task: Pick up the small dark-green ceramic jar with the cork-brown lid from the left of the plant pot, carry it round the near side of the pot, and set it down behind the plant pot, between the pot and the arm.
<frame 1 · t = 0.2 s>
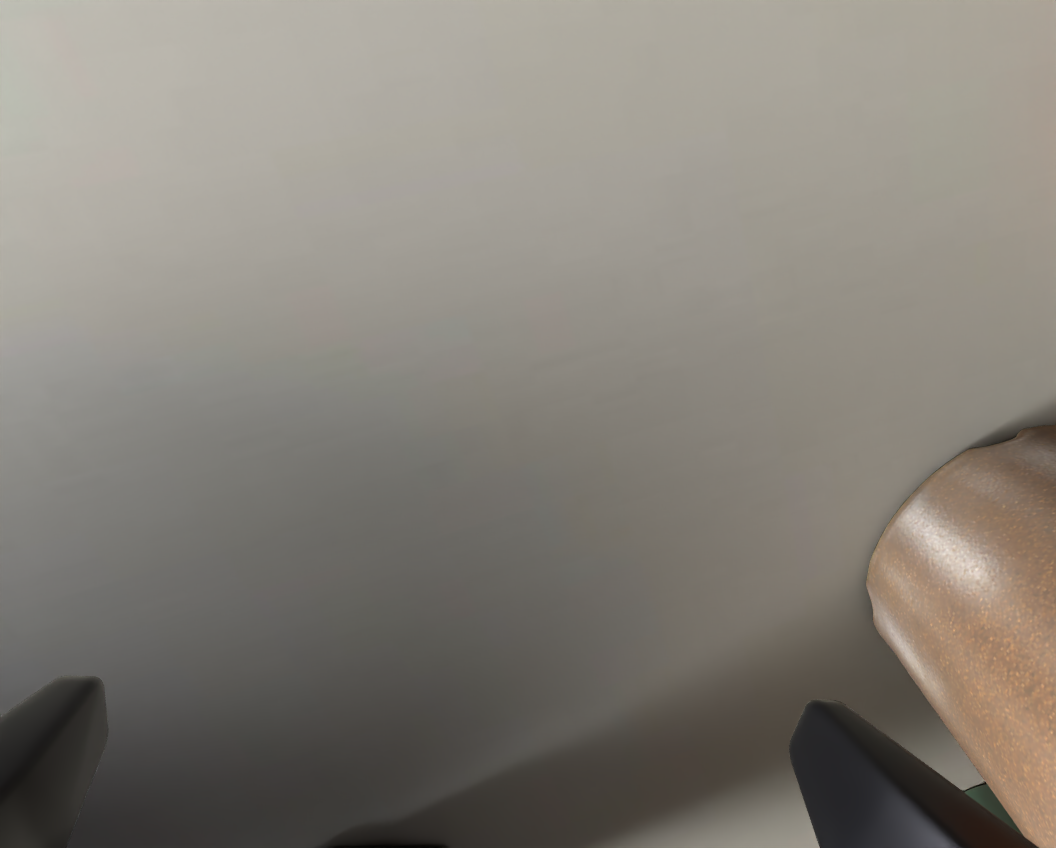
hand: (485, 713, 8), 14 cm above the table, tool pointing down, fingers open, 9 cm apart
jar: (976, 817, 36), on the table
plant pot: (988, 547, 28), on the table
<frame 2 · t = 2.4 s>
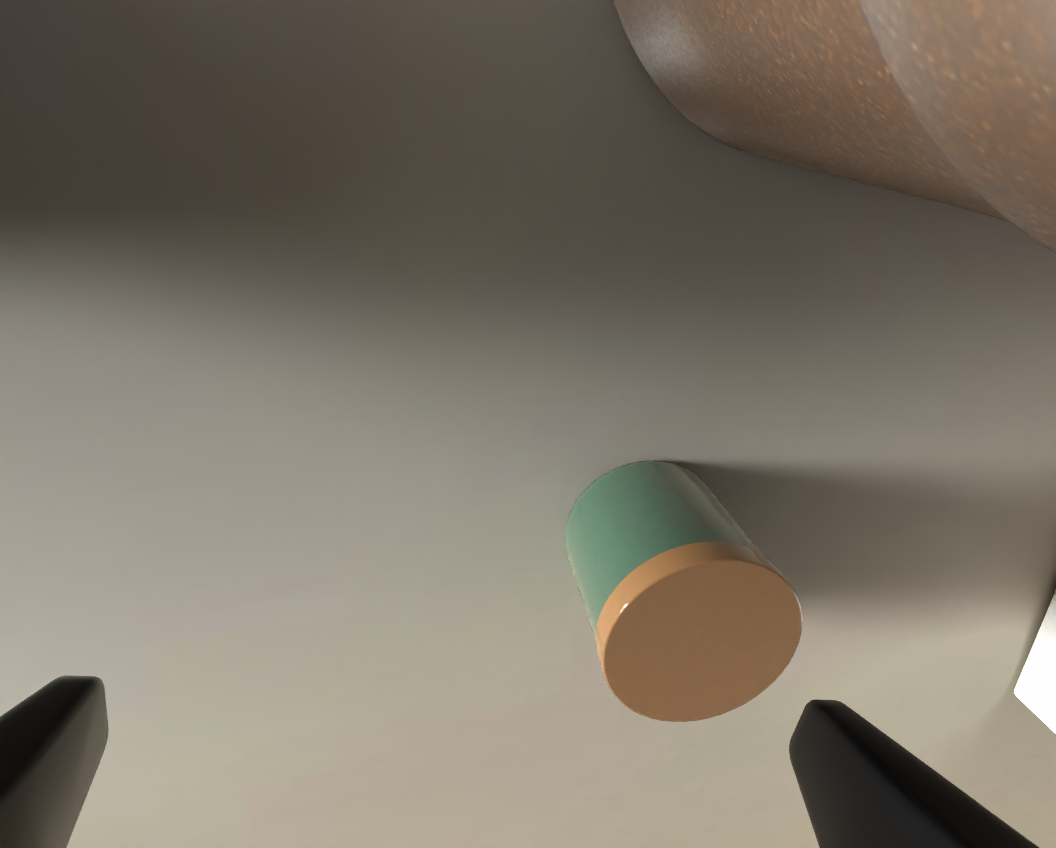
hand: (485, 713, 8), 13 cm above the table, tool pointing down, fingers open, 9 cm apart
jar: (640, 529, 23), on the table
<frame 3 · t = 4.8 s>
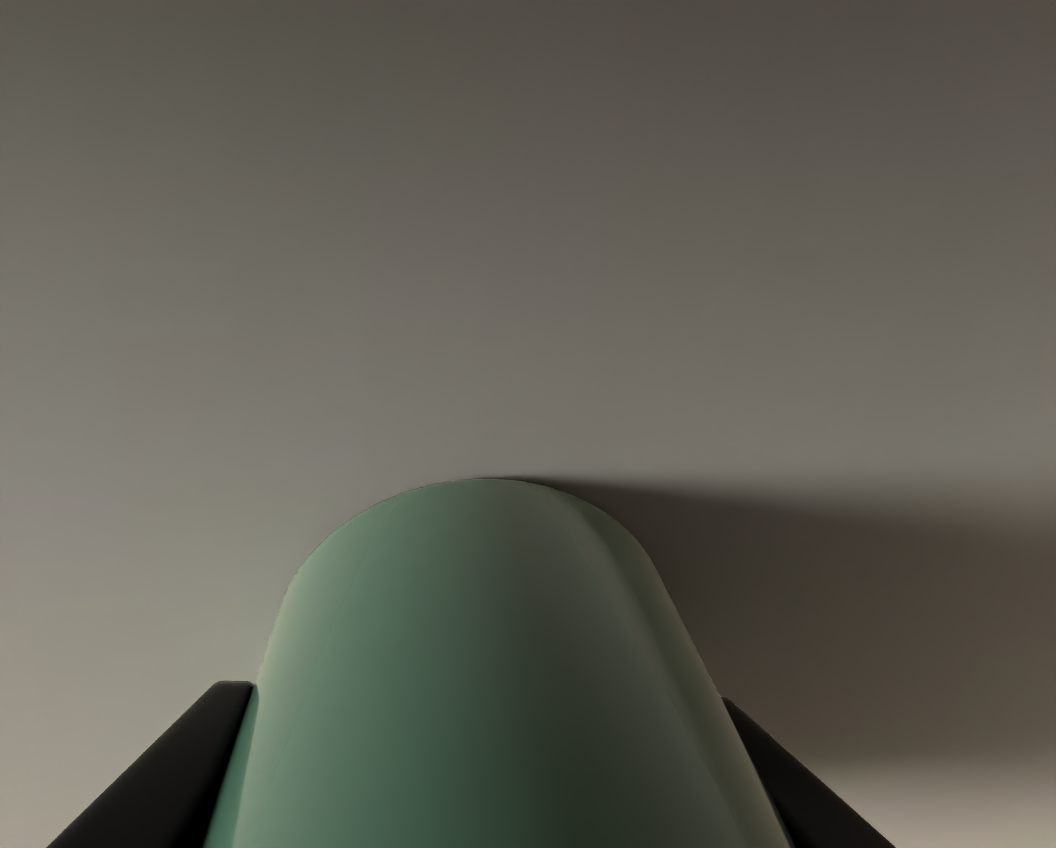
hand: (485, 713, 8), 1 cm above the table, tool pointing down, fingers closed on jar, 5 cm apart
jar: (477, 646, 9), on the table, touching gripper
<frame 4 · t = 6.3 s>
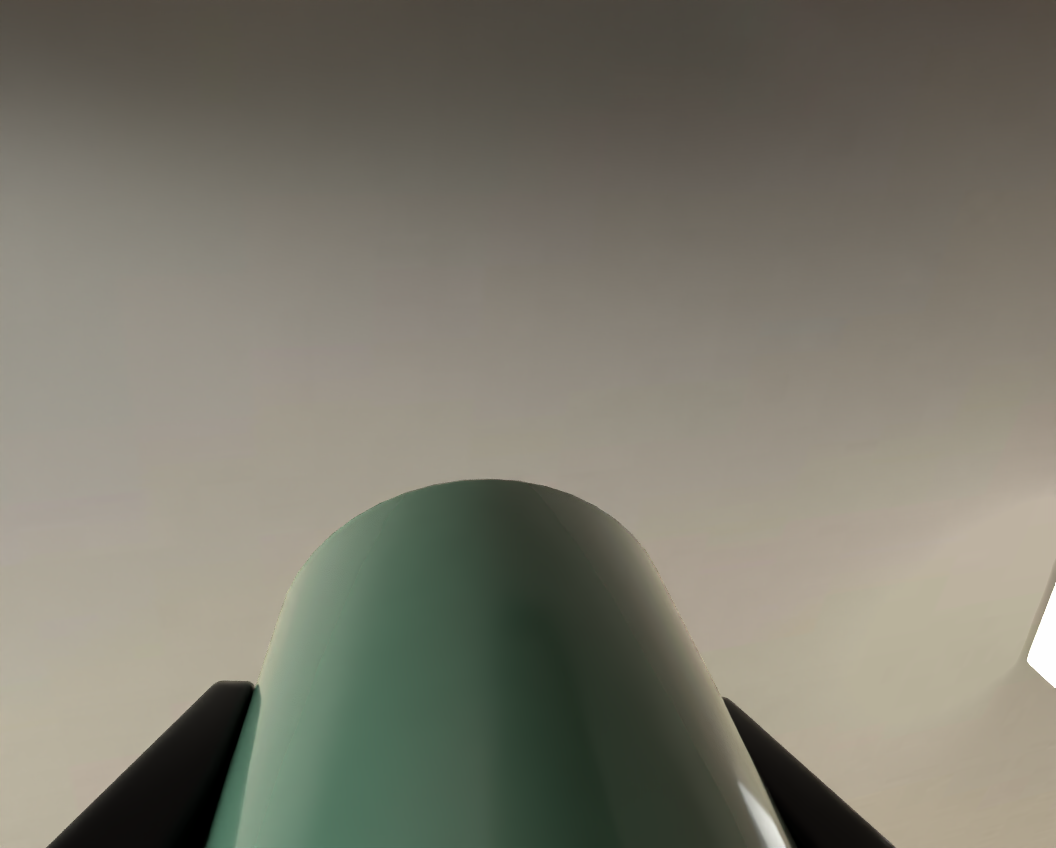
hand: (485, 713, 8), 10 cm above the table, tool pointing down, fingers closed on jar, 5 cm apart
jar: (478, 646, 9), point 9 cm above the table, touching gripper
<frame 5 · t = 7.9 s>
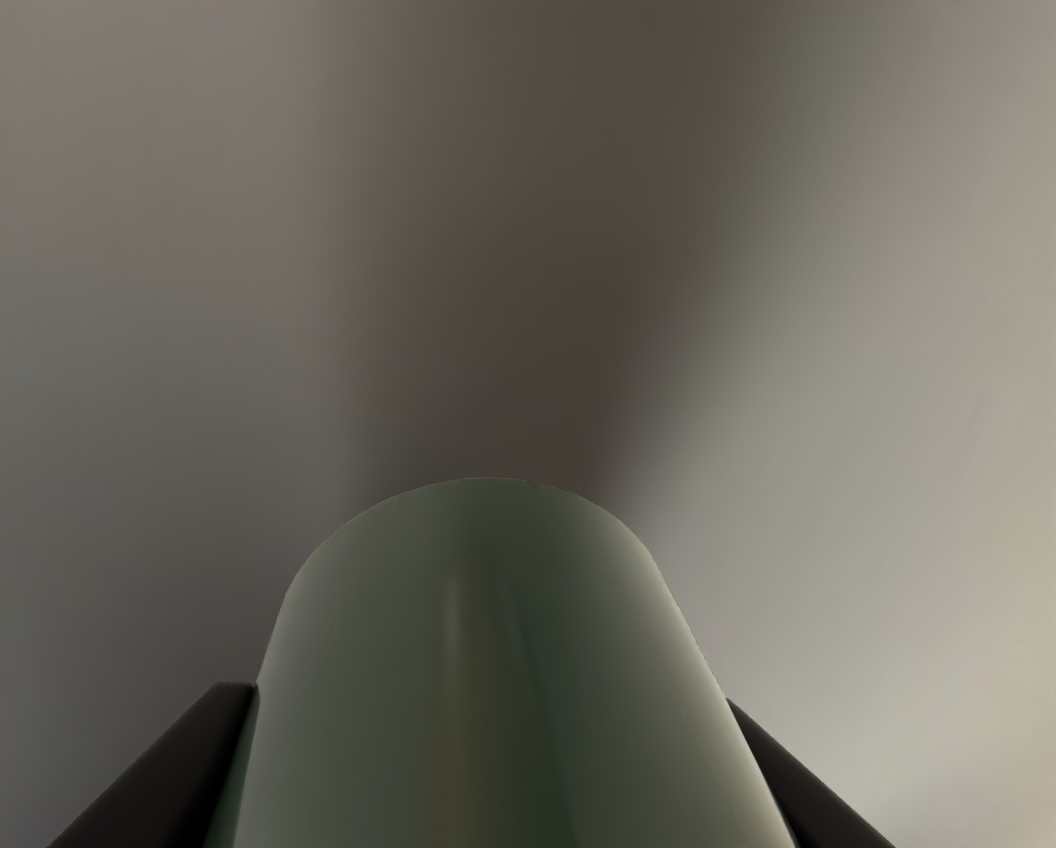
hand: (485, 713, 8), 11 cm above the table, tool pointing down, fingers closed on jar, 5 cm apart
jar: (479, 645, 9), point 10 cm above the table, touching gripper
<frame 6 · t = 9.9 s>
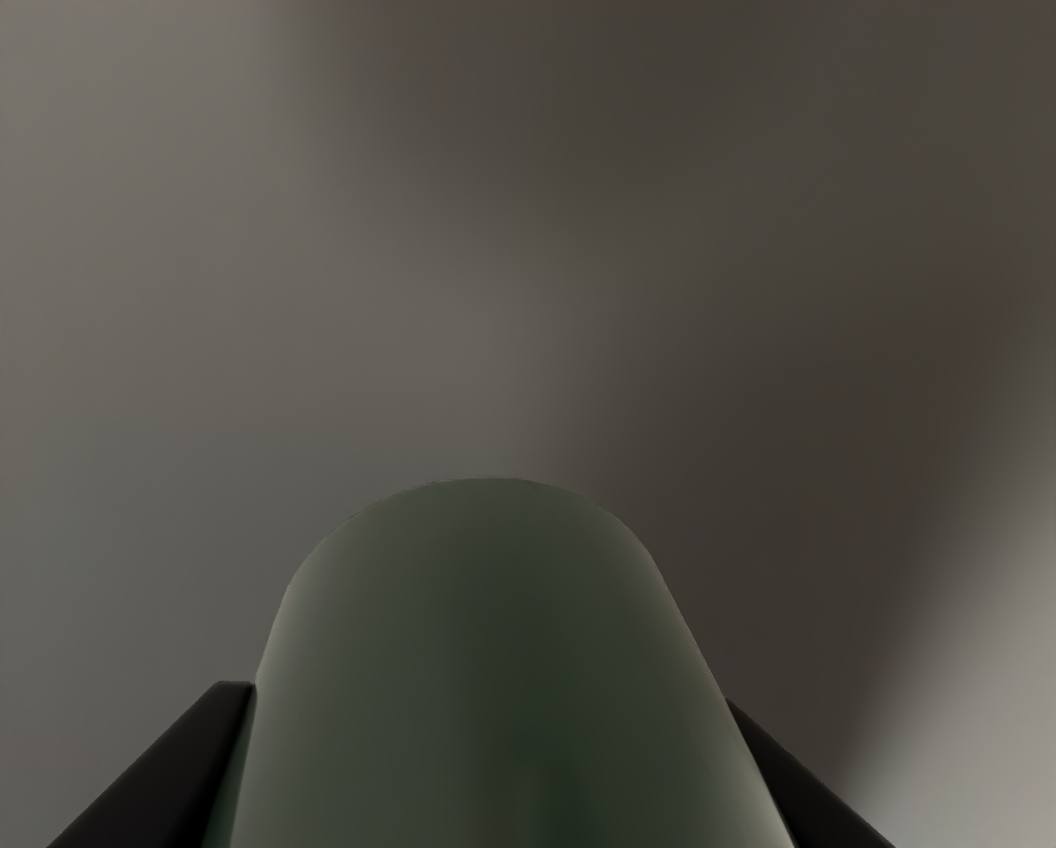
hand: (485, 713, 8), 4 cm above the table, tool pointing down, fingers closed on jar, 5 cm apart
jar: (478, 645, 9), point 2 cm above the table, touching gripper
when the fingers open (1 cm above the table, at t = 11.1 s): jar stays where it is, on the table.
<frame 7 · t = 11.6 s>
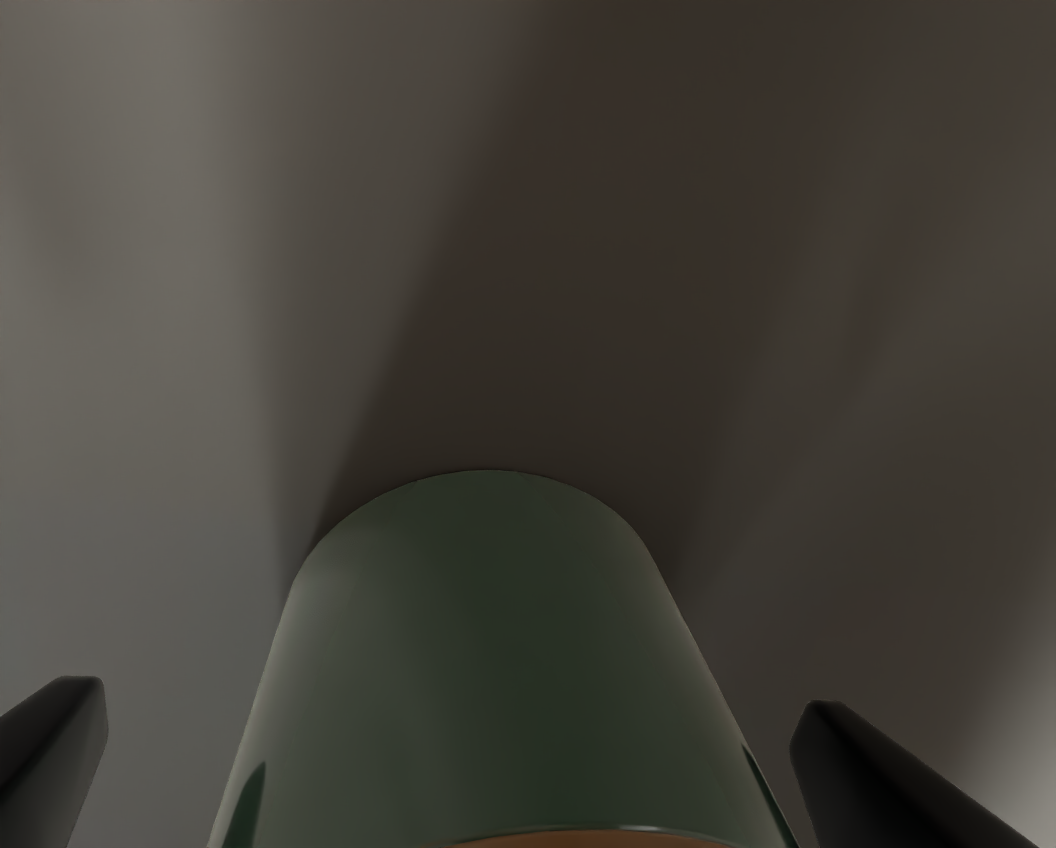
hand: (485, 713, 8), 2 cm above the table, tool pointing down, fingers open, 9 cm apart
jar: (479, 633, 10), on the table
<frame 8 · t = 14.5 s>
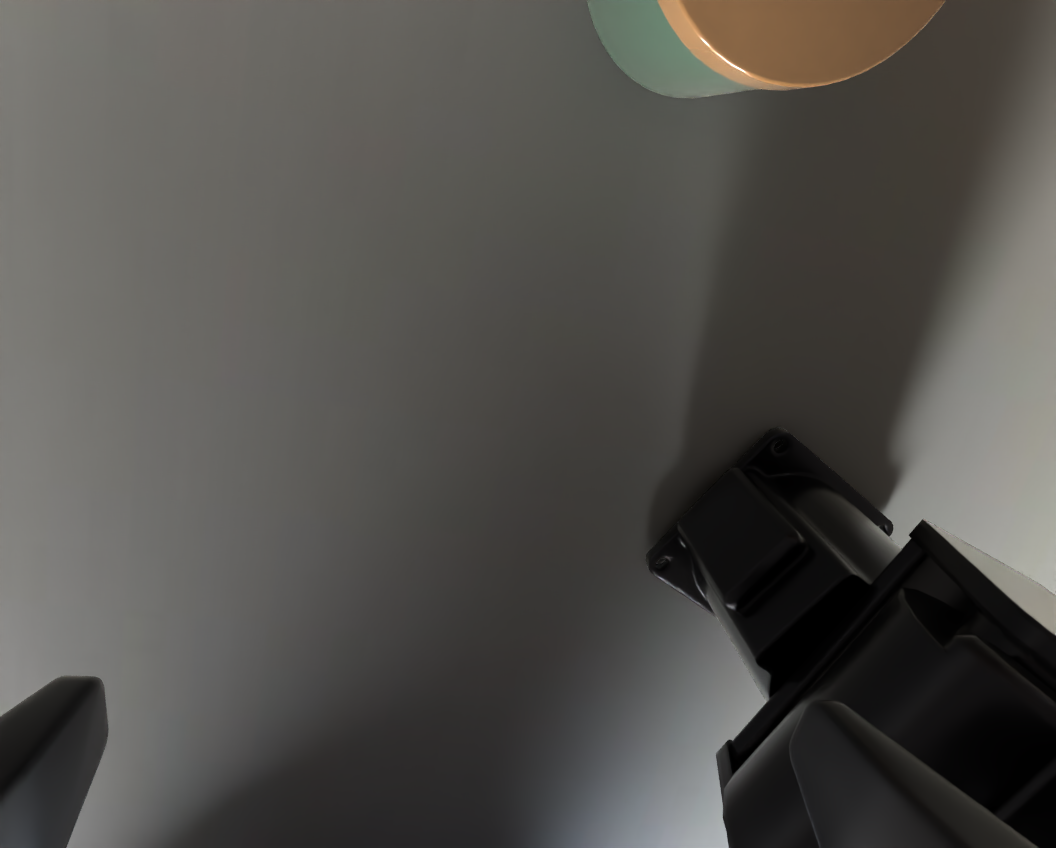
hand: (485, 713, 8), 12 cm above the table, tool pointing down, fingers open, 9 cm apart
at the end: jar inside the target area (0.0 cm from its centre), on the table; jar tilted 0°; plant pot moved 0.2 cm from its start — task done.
